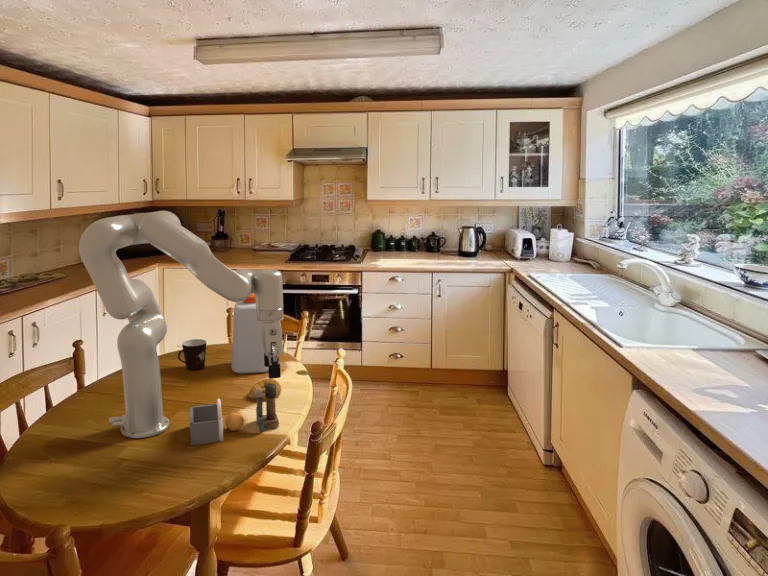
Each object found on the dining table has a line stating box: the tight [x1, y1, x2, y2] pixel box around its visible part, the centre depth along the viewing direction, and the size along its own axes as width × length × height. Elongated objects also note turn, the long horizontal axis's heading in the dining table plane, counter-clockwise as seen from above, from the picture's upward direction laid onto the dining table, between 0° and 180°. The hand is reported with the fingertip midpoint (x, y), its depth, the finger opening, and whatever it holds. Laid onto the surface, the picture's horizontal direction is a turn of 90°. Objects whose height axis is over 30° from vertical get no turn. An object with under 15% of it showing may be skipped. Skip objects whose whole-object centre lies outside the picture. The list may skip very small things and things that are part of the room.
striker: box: [254, 384, 280, 433], centre depth 151 cm, size 6×8×12 cm
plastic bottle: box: [231, 293, 269, 374], centre depth 196 cm, size 15×15×28 cm
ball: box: [225, 412, 245, 432], centre depth 149 cm, size 5×5×5 cm
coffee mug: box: [177, 338, 207, 372], centre depth 194 cm, size 12×9×10 cm
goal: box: [189, 397, 224, 446], centre depth 146 cm, size 8×12×8 cm
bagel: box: [247, 378, 282, 402], centre depth 173 cm, size 10×11×5 cm
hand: (272, 371), depth 149 cm, fingers open, 9 cm apart
